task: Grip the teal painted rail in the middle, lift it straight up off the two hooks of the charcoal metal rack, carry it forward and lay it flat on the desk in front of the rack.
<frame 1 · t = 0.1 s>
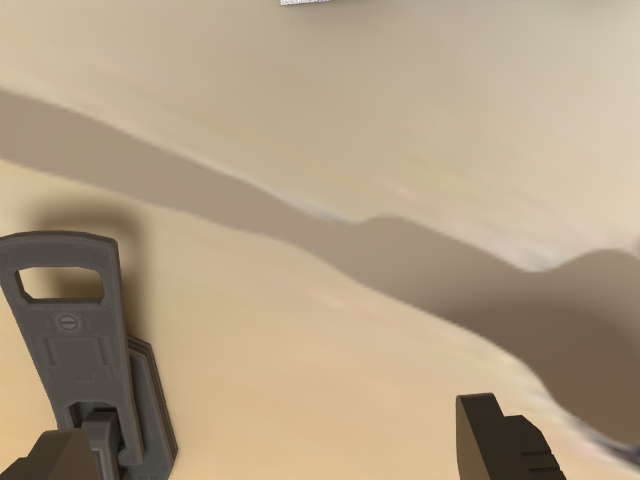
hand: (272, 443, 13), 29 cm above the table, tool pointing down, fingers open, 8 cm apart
dark grey elongated piece: (110, 353, 46), on the table
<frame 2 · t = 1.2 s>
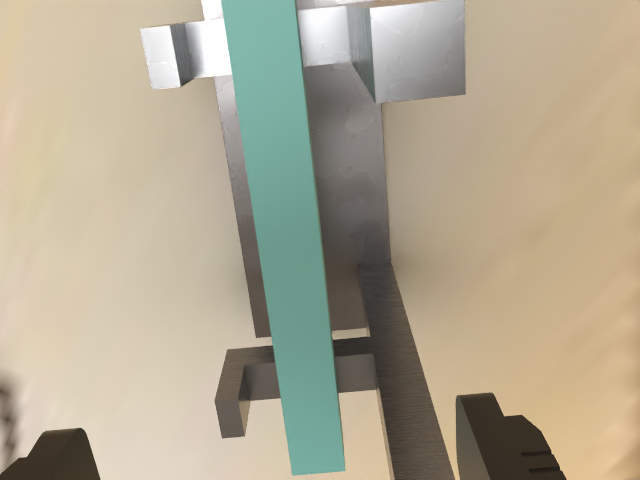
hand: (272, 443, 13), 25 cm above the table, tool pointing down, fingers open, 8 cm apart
teal rail: (292, 228, 25), point 11 cm above the table, touching hook rack
hook rack: (331, 157, 36), on the table
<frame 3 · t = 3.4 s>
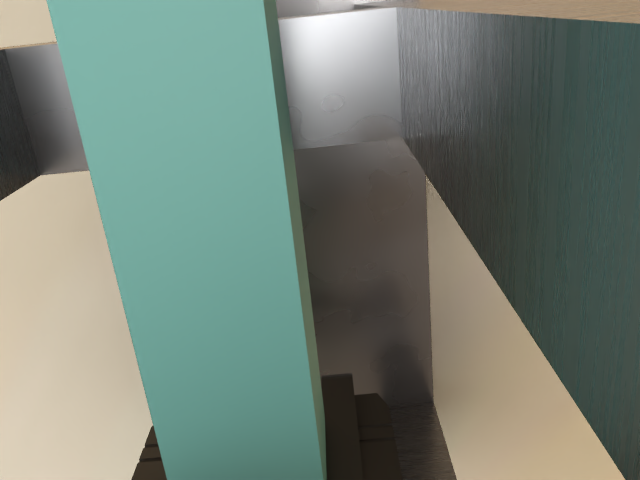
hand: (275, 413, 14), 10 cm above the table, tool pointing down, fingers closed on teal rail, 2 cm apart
teal rail: (271, 466, 12), point 12 cm above the table, touching gripper, hook rack
hook rack: (342, 244, 23), on the table
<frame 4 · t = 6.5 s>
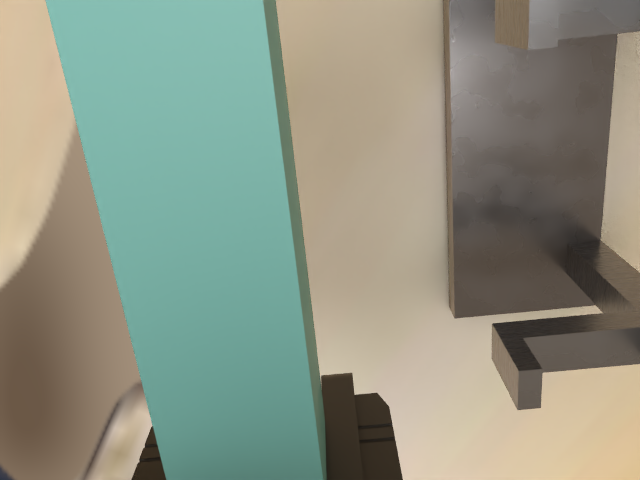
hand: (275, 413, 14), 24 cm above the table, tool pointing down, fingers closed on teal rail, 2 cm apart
teal rail: (271, 468, 12), point 26 cm above the table, touching gripper
hook rack: (546, 135, 36), on the table
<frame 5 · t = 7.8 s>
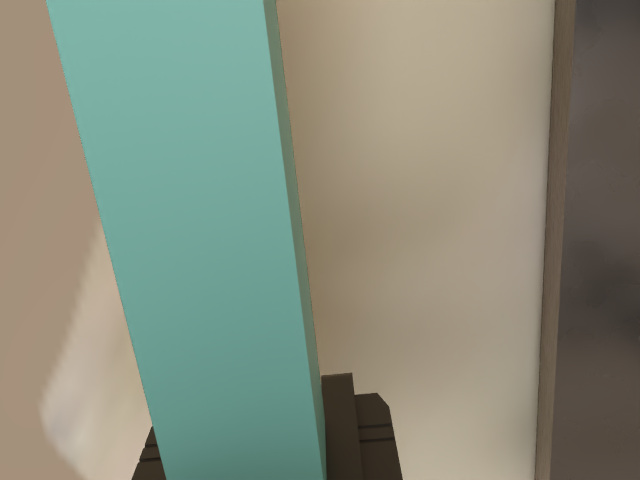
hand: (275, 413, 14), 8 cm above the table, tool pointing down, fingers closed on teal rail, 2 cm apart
teal rail: (271, 467, 12), point 10 cm above the table, touching gripper
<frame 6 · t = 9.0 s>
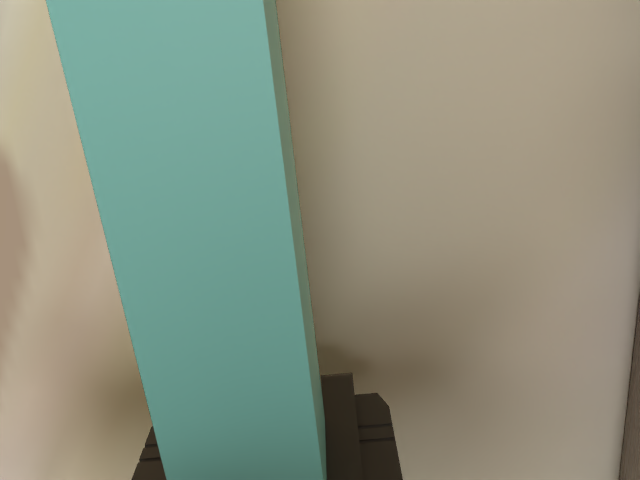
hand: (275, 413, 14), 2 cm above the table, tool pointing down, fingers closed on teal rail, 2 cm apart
teal rail: (271, 467, 12), point 3 cm above the table, touching gripper
when the fingers open (1 cm above the table, at t = 9.4 s): teal rail drops 3 cm, on the table.
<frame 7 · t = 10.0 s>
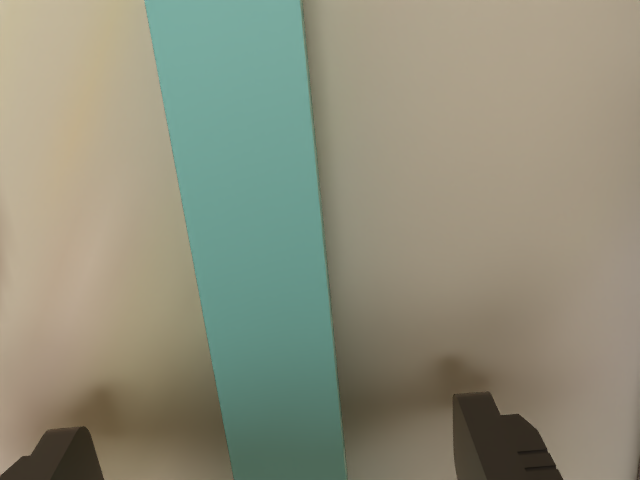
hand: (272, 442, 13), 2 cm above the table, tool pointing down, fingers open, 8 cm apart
teal rail: (290, 384, 15), on the table
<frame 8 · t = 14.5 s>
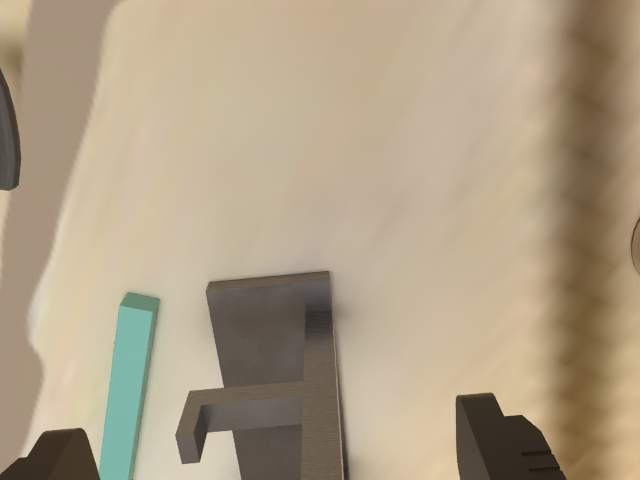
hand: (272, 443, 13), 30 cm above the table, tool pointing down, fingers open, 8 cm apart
teal rail: (128, 409, 49), on the table
hook rack: (304, 396, 49), on the table
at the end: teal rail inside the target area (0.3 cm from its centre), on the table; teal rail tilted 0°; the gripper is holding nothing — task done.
